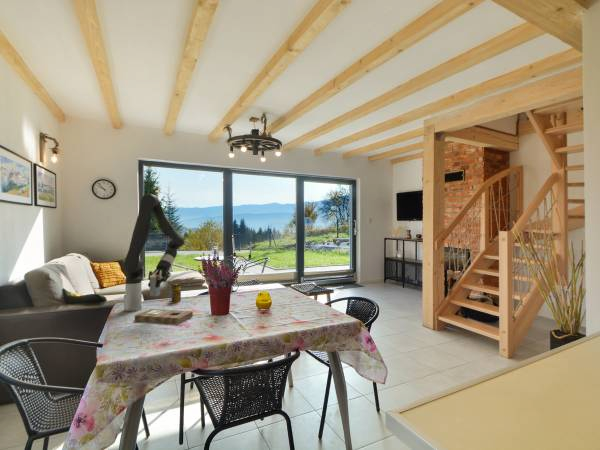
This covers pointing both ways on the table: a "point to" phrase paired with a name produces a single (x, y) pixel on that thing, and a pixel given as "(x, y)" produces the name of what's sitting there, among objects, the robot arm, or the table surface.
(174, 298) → the condiment
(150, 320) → the rack foot plate
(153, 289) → the grey upright cylinder
